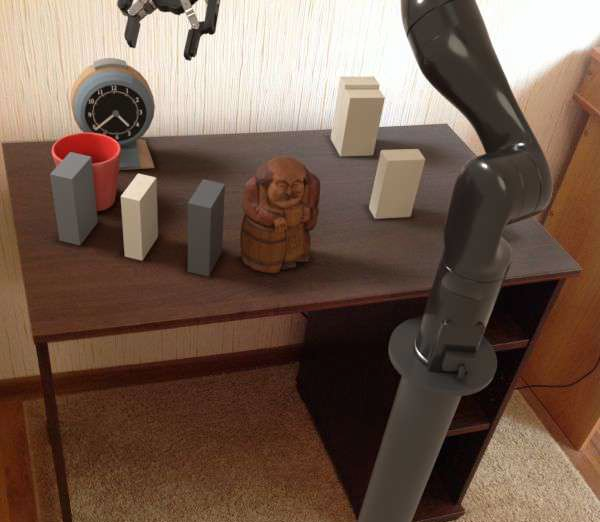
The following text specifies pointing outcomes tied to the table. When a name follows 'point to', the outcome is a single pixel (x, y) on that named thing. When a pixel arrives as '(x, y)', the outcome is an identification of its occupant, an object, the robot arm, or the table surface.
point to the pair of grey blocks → (83, 216)
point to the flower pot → (94, 162)
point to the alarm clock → (115, 108)
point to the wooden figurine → (279, 215)
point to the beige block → (139, 216)
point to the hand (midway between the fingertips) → (159, 52)
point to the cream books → (361, 142)
